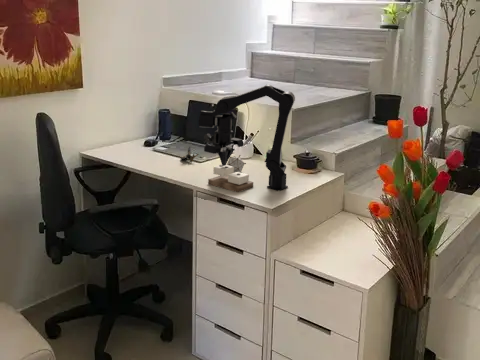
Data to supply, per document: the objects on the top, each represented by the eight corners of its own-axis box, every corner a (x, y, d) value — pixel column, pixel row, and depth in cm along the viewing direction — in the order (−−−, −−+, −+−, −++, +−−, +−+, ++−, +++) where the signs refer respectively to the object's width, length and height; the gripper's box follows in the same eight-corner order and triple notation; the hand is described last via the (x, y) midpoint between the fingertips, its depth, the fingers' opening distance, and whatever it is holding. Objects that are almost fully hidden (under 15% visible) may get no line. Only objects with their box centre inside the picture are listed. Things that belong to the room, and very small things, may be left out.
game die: (238, 182, 256) (243, 168, 249) (220, 174, 257) (225, 160, 249) (245, 168, 262) (250, 154, 254) (228, 160, 262) (232, 146, 255)
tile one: (248, 181, 237) (248, 173, 236) (239, 184, 232) (239, 176, 231) (237, 178, 240) (237, 171, 239) (227, 181, 236) (228, 174, 235)
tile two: (233, 173, 241) (233, 166, 240) (224, 176, 237) (224, 168, 236) (222, 170, 245) (223, 163, 244) (213, 173, 240) (213, 166, 239)
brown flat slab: (253, 186, 238) (253, 182, 238) (237, 192, 231) (238, 187, 230) (224, 178, 248) (224, 174, 247) (208, 183, 241) (208, 179, 240)
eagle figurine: (202, 159, 273) (193, 151, 280) (196, 148, 269) (187, 141, 275) (189, 169, 272) (180, 161, 278) (183, 158, 267) (174, 150, 274)
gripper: (224, 122, 247) (223, 157, 251) (194, 129, 233) (194, 166, 238) (244, 126, 240) (243, 162, 245) (214, 133, 226) (214, 171, 231)
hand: (223, 165), depth 240 cm, fingers closed
